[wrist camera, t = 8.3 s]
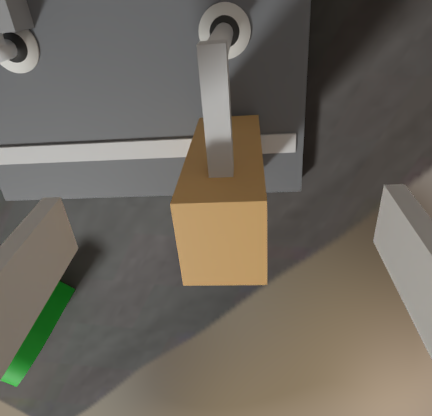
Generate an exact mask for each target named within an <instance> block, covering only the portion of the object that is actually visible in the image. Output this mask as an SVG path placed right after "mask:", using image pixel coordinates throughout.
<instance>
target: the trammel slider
mask: <svg viewBox="0 0 432 416" xmlns="http://www.w3.org/2000/svg"><path fill="white" fill-rule="evenodd" d="M232 37H233V29H232V27H231V26H230V25H229V24H227V23H220V24H218V25H217V26H216V28H215V29H214V31H213V32H212V34H211V35H210V37H209V38H208V40H207V41H199V42H198V44H197V45H196V47H197V58H198V68H199V79H200V89H201V100H202V111H203V118H199V120H198V123H197V126H196V129H195V132H194V135H193V138H192V141H191V144H190V147H189V150H188V153H187V156H186V159H185V162H184V165H183V168H182V170H181V173H180V176H179V179H178V182H177V185H176V188H175V191H174V194H173V197H172V200H171V203H170V206H171V212H172V219H173V225H174V231H175V237H176V243H177V250H178V256H179V262H180V268H181V274H182V280H183V286H190V285H267V196H266V186H265V176H264V166H263V156H262V145H261V135H260V125H259V115H246V116H231V101H230V82H229V64H228V55H229V50H230V46H231V42H232Z"/></svg>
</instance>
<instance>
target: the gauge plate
mask: <svg viewBox="0 0 432 416" xmlns="http://www.w3.org/2000/svg"><path fill="white" fill-rule="evenodd" d="M310 10H311V0H0V188H1V191H2V193H3V195H4V198H5V200H6V201H13V200H41V199H42V198H48V197H61V199H76V198H108V197H139V196H171V195H173V194H174V191H175V188H176V185H177V182H178V179H179V176H180V173H181V170H182V168H183V165H184V162H185V159H186V156H187V153H188V150H189V147H190V144H191V141H192V138H193V135H194V132H195V129H196V126H197V123H198V120H199V118H203V111H202V100H201V89H200V79H199V68H198V58H197V47H196V45H197V44H198V42H199V41H207V40H208V38H209V37H210V35H211V34H212V32H213V31H214V29H215V28H216V26H217V25H218V24H220V23H227V24H229V25H230V26H231V27H232V29H233V37H232V42H231V46H230V50H229V55H228V64H229V82H230V101H231V116H246V115H259V125H260V135H261V145H262V156H263V166H264V176H265V186H266V192H296V191H301V183H302V164H303V145H304V125H305V106H306V87H307V67H308V48H309V29H310Z"/></svg>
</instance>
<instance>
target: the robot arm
mask: <svg viewBox="0 0 432 416" xmlns="http://www.w3.org/2000/svg"><path fill="white" fill-rule="evenodd" d="M373 242H374V244H375V246H376V248H377V250H378V252H379V254H380V256H381V258H382V260H383V262H384V264H385V266H386V268H387V270H388V272H389V274H390V276H391V278H392V280H393V282H394V284H395V286H396V288H397V290H398V292H399V294H400V296H401V299H402V301H403V302H404V304H405V307H406V309H407V311H408V313H409V315H410V317H411V319H412V321H413V323H414V325H415V327H416V329H417V331H418V333H419V335H420V337H421V339H422V341H423V343H424V345H425V347H426V349H427V351H428V353H429V355H430V357H431V359H432V219H431V218H430V216H429V215H428V214H427V212H426V211H425V210H424V209H423V207H422V206H421V205H420V204H419V202H418V201H417V200H416V198H415V197H414V196H413V195H412V193H411V192H410V191H409V189H408V188H407V187H406V185H405V184H396V185H384V188H383V193H382V198H381V203H380V209H379V214H378V219H377V224H376V230H375V235H374V241H373ZM77 250H78V246H77V243H76V240H75V237H74V234H73V232H72V229H71V226H70V223H69V220H68V217H67V214H66V212H65V209H64V206H63V203H62V200H61V197H48V198H42V199H41V201H40V202H39V203H38V204H37V205H36V206H35V207H34V209H33V210H32V211H31V212H30V213H29V214H28V215H27V216H26V218H25V219H24V220H23V221H22V222H21V223H20V224H19V225H18V227H17V228H16V229H15V230H14V231H13V232H12V233H11V235H10V236H9V237H8V238H7V239H6V240H5V241H4V242H3V244H2V245H1V246H0V380H1V379H2V377H3V375H4V374H5V372H6V370H7V369H8V367H9V365H10V363H11V362H12V360H13V358H14V357H15V355H16V353H17V352H18V350H19V348H20V347H21V345H22V343H23V341H24V340H25V338H26V336H27V335H28V333H29V331H30V330H31V328H32V326H33V325H34V323H35V321H36V319H37V318H38V316H39V314H40V313H41V311H42V309H43V308H44V306H45V304H46V303H47V301H48V299H49V297H50V296H51V294H52V292H53V291H54V289H55V287H56V286H57V284H58V282H59V281H60V279H61V277H62V276H63V274H64V272H65V270H66V269H67V267H68V265H69V264H70V262H71V260H72V259H73V257H74V255H75V254H76V252H77Z"/></svg>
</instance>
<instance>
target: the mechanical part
mask: <svg viewBox="0 0 432 416" xmlns="http://www.w3.org/2000/svg"><path fill="white" fill-rule="evenodd" d="M74 291H75V289H74V288H72V287H70V286H68V285H66V284H65V283H63V282H61V281H59V282H58V284H57V286H56V287H55V289H54V291H53V292H52V294H51V296H50V297H49V299H48V301H47V303H46V304H45V306H44V308H43V309H42V311H41V313H40V314H39V316H38V318H37V319H36V321H35V323H34V325H33V326H32V328H31V330H30V331H29V333H28V335H27V336H26V338H25V340H24V341H23V343H22V345H21V347H20V348H19V350H18V352H17V353H16V355H15V357H14V358H13V360H12V362H11V363H10V365H9V367H8V369H7V370H6V372H5V374H4V375H3V377H2V379H1V381H4V382H6V383H8V384H11V385H13V386H15V387H17V386H18V384H19V383H20V382H21V380H22V379H23V377H24V376H25V375H26V373H27V372H28V370H29V368H30V367H31V365H32V364H33V362H34V361H35V359H36V357H37V356H38V354H39V353H40V351H41V349H42V348H43V346H44V344H45V343H46V341H47V339H48V337H49V336H50V334H51V332H52V330H53V328H54V327H55V325H56V323H57V321H58V319H59V318H60V316H61V314H62V312H63V310H64V309H65V307H66V305H67V303H68V302H69V300H70V298H71V296H72V294H73V293H74Z"/></svg>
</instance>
